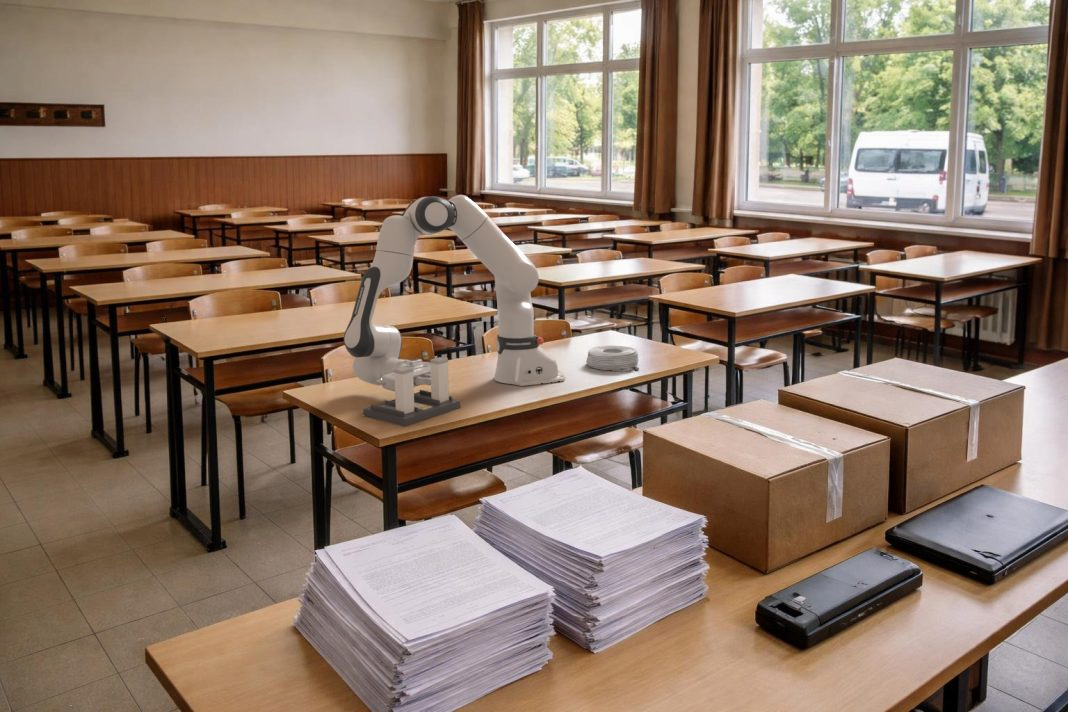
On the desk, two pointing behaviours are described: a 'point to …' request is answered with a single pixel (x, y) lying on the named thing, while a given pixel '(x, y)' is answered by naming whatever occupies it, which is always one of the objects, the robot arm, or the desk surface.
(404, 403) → the white rectangular block
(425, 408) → the fixture base
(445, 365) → the tall white block
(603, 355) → the cable
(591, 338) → the desk surface
